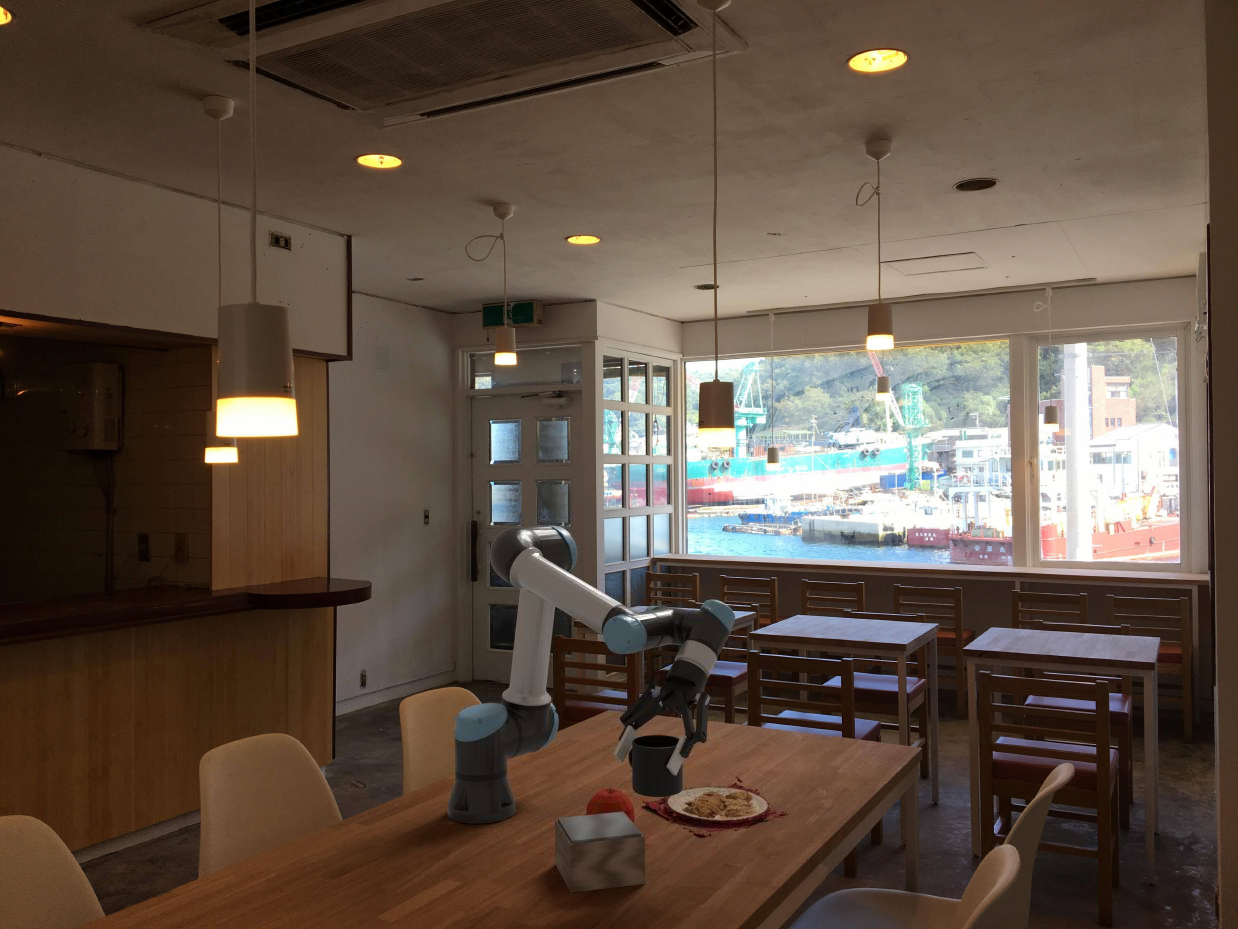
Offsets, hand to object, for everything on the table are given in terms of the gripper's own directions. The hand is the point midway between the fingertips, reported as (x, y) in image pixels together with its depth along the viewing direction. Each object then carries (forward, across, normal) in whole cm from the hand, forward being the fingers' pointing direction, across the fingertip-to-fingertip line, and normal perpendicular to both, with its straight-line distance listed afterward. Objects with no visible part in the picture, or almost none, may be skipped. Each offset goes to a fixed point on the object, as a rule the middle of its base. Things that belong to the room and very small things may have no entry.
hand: (644, 765), depth 184 cm
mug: (+2, 0, -5) cm, 6 cm away
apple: (+8, +17, -23) cm, 29 cm away
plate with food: (-13, +10, -45) cm, 48 cm away
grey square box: (+17, +8, -13) cm, 23 cm away
